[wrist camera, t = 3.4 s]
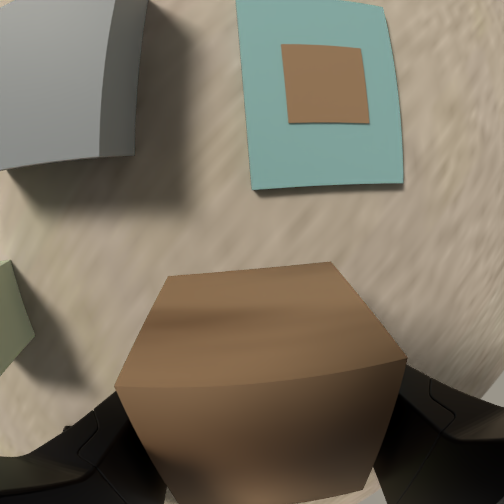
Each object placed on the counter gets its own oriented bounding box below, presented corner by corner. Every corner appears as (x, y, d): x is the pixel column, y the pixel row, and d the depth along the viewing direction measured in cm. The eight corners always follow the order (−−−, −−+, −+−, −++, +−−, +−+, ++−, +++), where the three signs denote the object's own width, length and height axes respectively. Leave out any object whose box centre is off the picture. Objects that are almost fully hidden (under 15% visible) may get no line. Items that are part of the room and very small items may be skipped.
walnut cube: (325, 383, 11) (362, 489, 6) (195, 395, 11) (181, 507, 6) (330, 261, 9) (407, 357, 5) (168, 276, 9) (114, 386, 4)
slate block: (136, 155, 13) (99, 156, 9) (9, 169, 12) (-40, 178, 8) (149, 1, 10) (125, -39, 6) (22, 35, 10) (-20, 18, 6)
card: (398, 181, 13) (404, 183, 13) (251, 188, 13) (252, 190, 12) (378, 10, 10) (383, 6, 10) (235, 2, 10) (235, -4, 10)
